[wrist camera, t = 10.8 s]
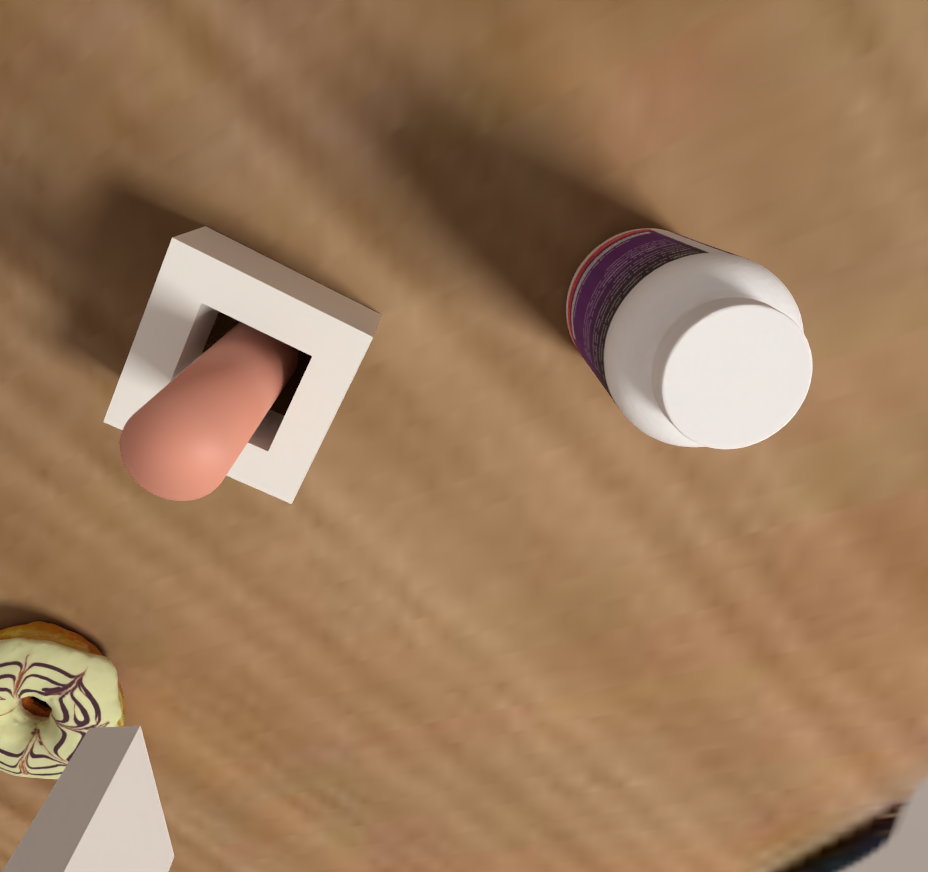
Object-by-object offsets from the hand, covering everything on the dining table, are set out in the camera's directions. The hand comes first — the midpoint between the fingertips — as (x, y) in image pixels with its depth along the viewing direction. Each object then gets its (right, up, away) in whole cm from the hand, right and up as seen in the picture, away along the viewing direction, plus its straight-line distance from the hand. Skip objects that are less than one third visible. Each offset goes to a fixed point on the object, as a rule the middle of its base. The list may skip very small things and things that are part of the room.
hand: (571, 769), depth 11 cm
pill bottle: (+8, +13, +29) cm, 32 cm away
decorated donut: (-29, -11, +37) cm, 48 cm away
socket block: (-13, +10, +29) cm, 33 cm away
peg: (-13, +10, +29) cm, 33 cm away
